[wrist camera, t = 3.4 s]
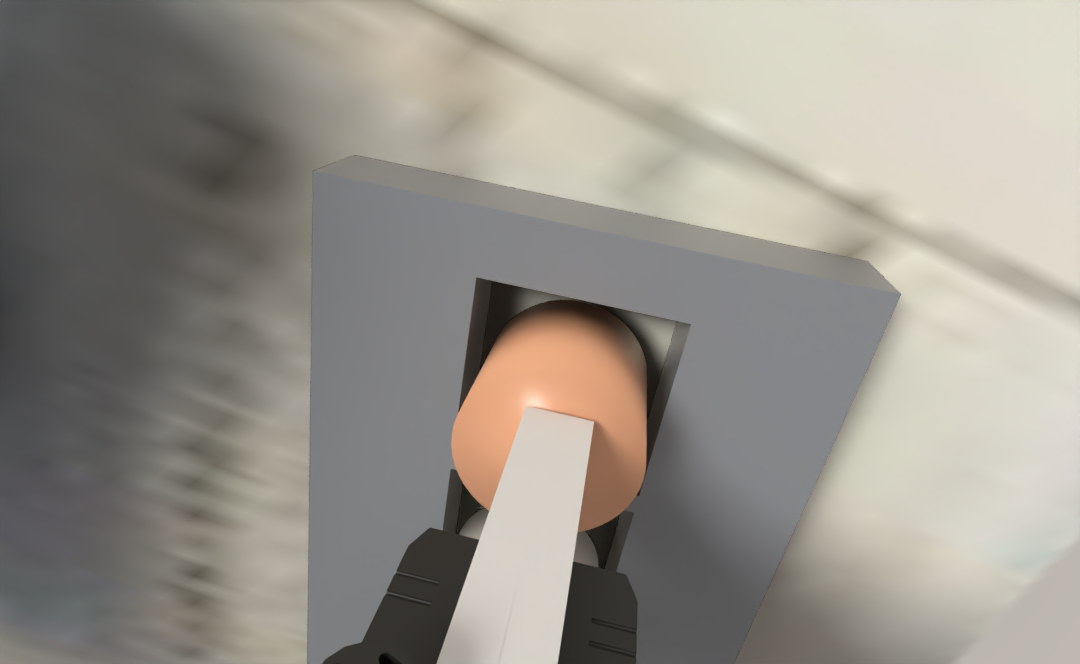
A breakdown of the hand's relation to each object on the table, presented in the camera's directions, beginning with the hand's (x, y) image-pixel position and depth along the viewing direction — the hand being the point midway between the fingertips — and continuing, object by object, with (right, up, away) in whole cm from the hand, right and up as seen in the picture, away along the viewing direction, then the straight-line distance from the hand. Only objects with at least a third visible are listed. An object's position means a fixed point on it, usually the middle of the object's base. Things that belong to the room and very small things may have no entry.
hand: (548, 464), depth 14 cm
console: (0, -3, +7) cm, 8 cm away
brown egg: (+1, +2, +4) cm, 4 cm away
